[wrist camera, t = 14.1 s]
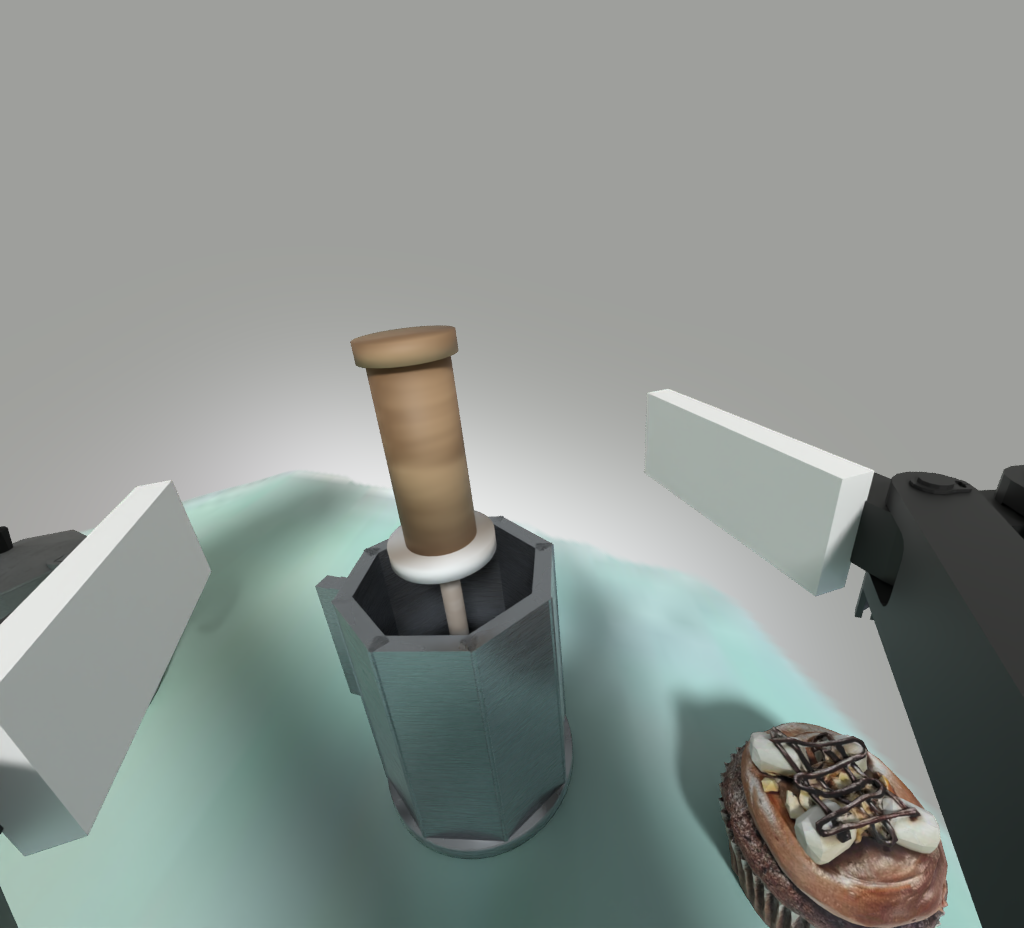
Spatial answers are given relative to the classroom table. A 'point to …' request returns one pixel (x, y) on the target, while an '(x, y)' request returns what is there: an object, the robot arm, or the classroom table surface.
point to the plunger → (426, 461)
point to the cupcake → (829, 834)
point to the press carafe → (461, 693)
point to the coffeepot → (30, 564)
